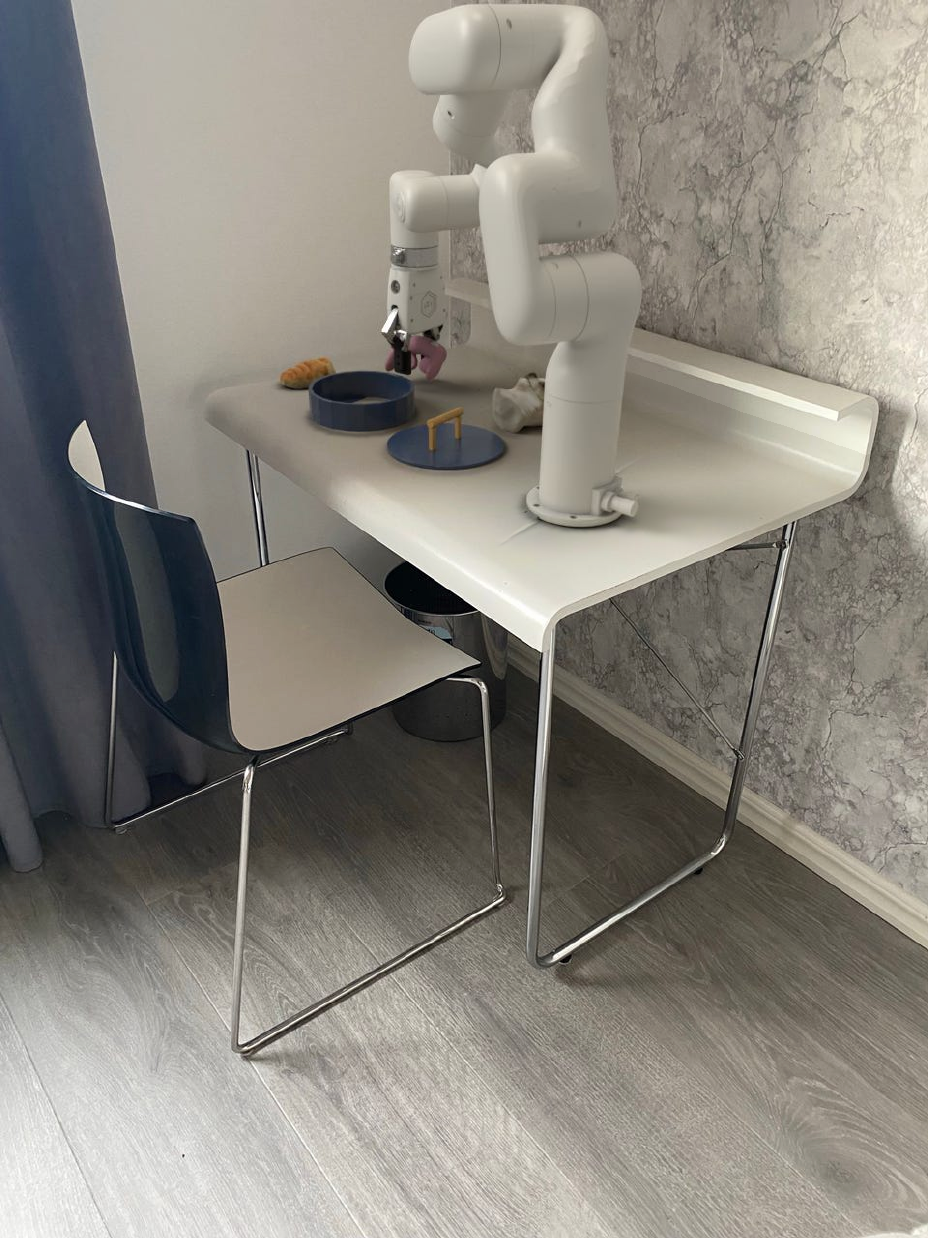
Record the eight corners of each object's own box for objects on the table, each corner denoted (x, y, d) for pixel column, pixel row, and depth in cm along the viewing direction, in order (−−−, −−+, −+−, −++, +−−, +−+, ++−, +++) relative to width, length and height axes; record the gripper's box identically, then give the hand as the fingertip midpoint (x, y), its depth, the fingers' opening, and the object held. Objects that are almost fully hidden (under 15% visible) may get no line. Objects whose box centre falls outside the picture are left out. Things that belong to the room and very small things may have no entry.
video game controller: (443, 385, 167) (453, 343, 166) (429, 379, 162) (440, 337, 162) (394, 374, 171) (404, 334, 170) (380, 369, 167) (390, 327, 166)
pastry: (292, 393, 166) (291, 371, 164) (272, 383, 171) (270, 361, 169) (340, 382, 171) (339, 360, 169) (319, 373, 176) (318, 351, 174)
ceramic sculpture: (475, 367, 150) (552, 358, 158) (471, 423, 154) (546, 411, 162) (518, 388, 143) (596, 376, 151) (512, 445, 147) (589, 431, 155)
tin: (435, 413, 159) (435, 384, 156) (366, 443, 148) (365, 411, 145) (360, 392, 167) (358, 364, 164) (289, 418, 156) (287, 388, 153)
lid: (526, 447, 147) (528, 410, 144) (455, 484, 135) (455, 444, 132) (436, 421, 156) (436, 386, 153) (362, 453, 144) (361, 416, 141)
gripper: (396, 269, 150) (399, 385, 159) (466, 251, 162) (465, 360, 171) (360, 261, 154) (364, 376, 163) (430, 244, 165) (431, 352, 175)
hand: (416, 367), depth 167 cm, fingers closed on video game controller, 6 cm apart
